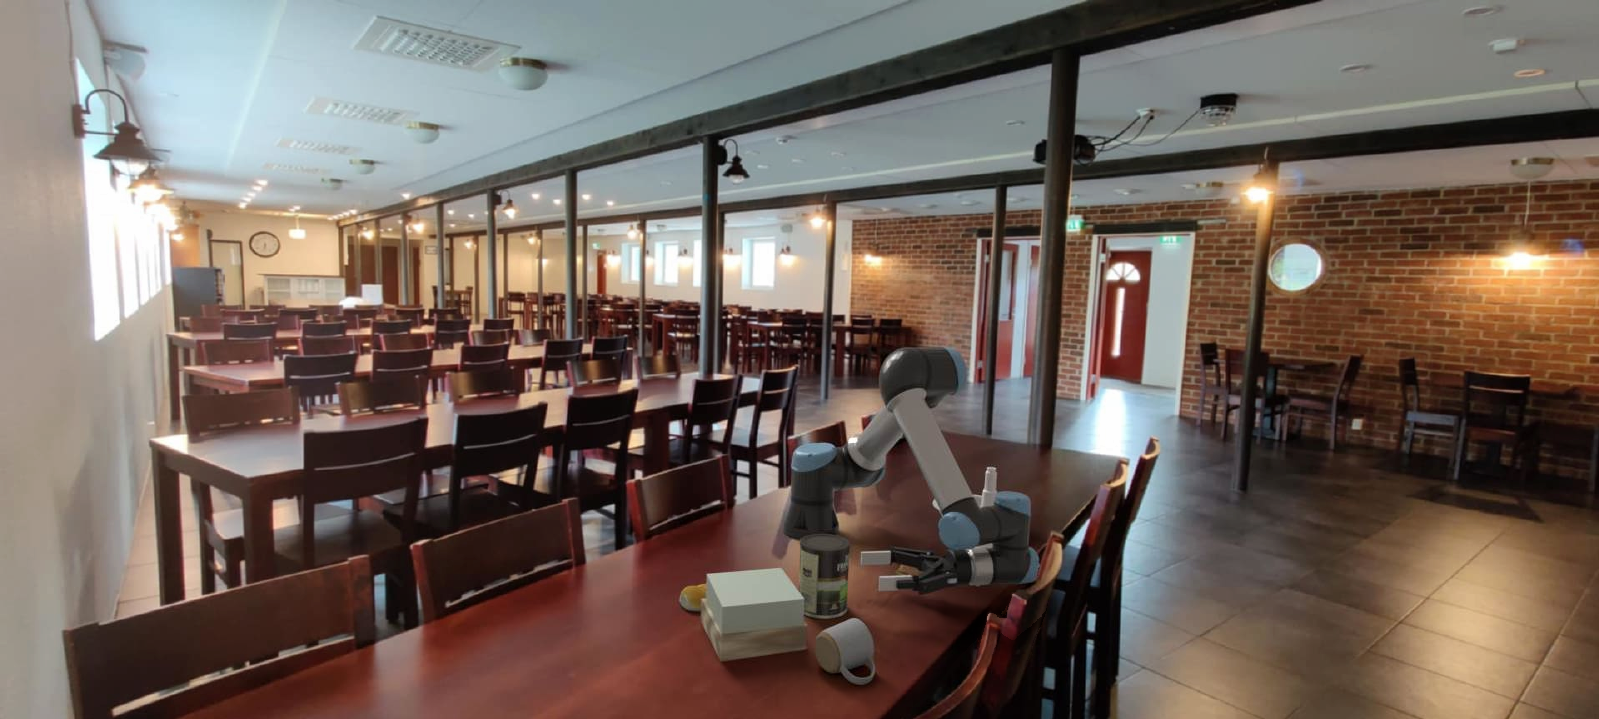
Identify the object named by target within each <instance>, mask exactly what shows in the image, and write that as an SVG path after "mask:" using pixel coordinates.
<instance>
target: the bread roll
mask: <svg viewBox="0 0 1599 719" xmlns="http://www.w3.org/2000/svg"><path fill="white" fill-rule="evenodd" d="M705 598H706V583H701V584H699V585H689V586H686V587H684V588H683V590H681V592H680V596H679V604H680V605H681V607H682V608H683V609H685V610H687V611H690V612H701V599H705Z"/></svg>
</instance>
